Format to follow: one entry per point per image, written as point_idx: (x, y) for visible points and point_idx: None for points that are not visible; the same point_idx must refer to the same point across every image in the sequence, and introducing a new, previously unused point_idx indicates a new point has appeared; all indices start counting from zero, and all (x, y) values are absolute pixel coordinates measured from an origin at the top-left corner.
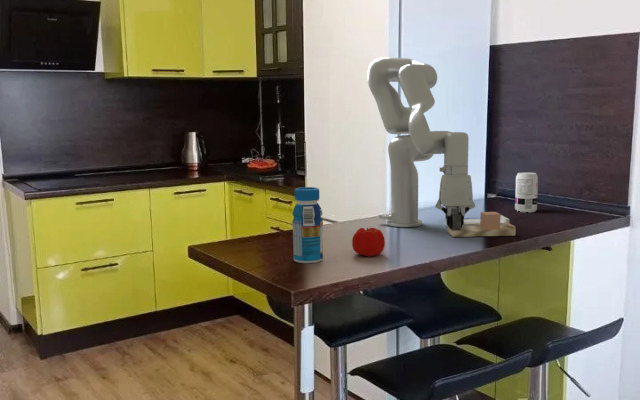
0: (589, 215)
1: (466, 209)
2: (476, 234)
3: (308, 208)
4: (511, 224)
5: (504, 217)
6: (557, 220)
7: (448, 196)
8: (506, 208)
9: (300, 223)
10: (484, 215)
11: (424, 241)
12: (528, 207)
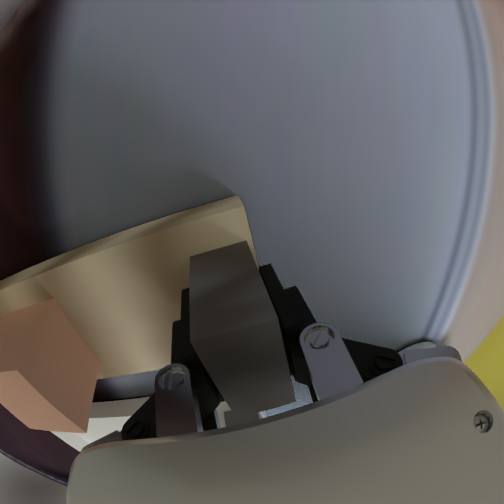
0: (13, 453)
1: (146, 425)
2: (91, 245)
3: None
4: None
5: (72, 445)
6: (22, 442)
7: (460, 489)
8: None
9: None
10: (28, 373)
11: (398, 75)
12: None
